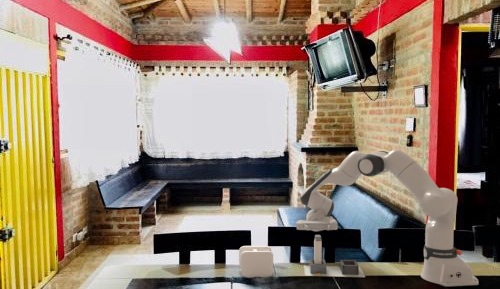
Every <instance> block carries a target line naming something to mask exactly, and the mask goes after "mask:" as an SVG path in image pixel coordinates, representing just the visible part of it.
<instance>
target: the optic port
mask: <svg viewBox="0 0 500 289" xmlns="http://www.w3.org/2000/svg"><path fill="white" fill-rule="evenodd" d="M308 266H309V268H310V273H311V274H317V273H320V274H326V266H327V263H326V260H325V258H323V259H322V264H314V258H309V265H308Z"/></svg>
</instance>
